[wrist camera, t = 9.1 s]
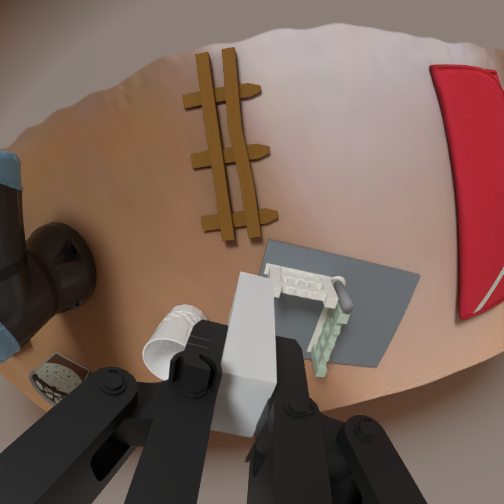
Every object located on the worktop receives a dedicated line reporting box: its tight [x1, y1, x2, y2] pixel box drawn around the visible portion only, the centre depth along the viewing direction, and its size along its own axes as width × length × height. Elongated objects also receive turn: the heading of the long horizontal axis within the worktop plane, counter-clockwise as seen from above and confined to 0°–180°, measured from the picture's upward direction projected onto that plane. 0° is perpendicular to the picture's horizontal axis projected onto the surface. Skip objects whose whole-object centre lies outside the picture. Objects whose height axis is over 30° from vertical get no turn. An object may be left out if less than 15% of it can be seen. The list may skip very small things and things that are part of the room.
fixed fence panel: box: [268, 265, 339, 309], centre depth 37 cm, size 8×1×6 cm, turn 78°
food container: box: [29, 352, 90, 406], centre depth 47 cm, size 12×6×10 cm, turn 71°
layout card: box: [259, 239, 420, 367], centre depth 42 cm, size 24×18×1 cm
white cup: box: [143, 304, 208, 381], centre depth 40 cm, size 8×8×10 cm
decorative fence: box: [183, 47, 278, 241], centre depth 35 cm, size 25×2×10 cm
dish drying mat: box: [429, 65, 504, 320], centre depth 33 cm, size 16×41×4 cm, turn 15°
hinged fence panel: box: [311, 280, 354, 377], centre depth 39 cm, size 13×1×6 cm, turn 170°
